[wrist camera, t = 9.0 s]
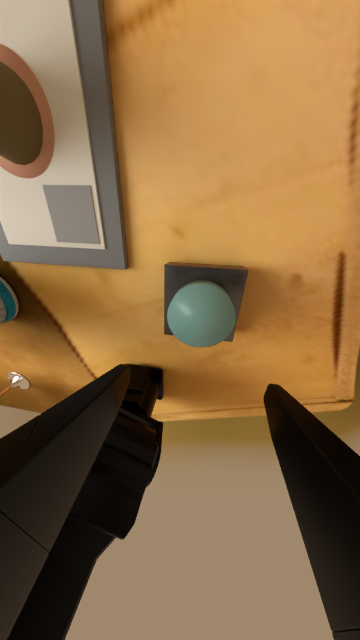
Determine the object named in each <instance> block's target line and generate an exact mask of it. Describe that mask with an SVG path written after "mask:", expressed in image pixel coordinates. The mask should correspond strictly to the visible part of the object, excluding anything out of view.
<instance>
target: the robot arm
mask: <svg viewBox="0 0 360 640" xmlns="http://www.w3.org/2000/svg"><path fill="white" fill-rule="evenodd" d="M162 398H163V370H162V369H158V368H151V367H143V366H136V365H128V364H119V365H118V366H116V367H114V368H113V369H111V370H110V371H108V372H107V373H105V374H103V375H102V376H100V377H99V378H97V379H95V380H94V381H92V382H91V383H89V384H87V385H86V386H84V387H83V388H81V389H80V390H78V391H76V392H75V393H73V394H72V395H70V396H68V397H67V398H65V399H64V400H62V401H60V402H59V403H57V404H56V405H54V406H53V407H51V408H49V409H48V410H46V411H45V412H43V413H41V415H38V416H37V417H35V418H33V419H32V420H30V421H29V422H27V423H26V424H24V425H22V426H20V427H19V428H17V429H16V430H14V431H12V432H11V433H9V434H7V435H6V436H4V437H2V438H0V640H65V637H66V635H67V633H68V630H69V628H70V625H71V622H72V620H73V617H74V615H75V612H76V610H77V607H78V605H79V602H80V600H81V597H82V595H83V592H84V590H85V587H86V585H87V582H88V579H89V577H90V575H91V572H92V570H93V567H94V565H95V563H96V560H97V559H98V558H99V556H100V555H101V554H102V553H103V552H104V551H105V549H106V548H107V547H108V546H109V545H110V544H111V543H112V541H113V540H114V539H115V538H116V537H117V538H119V539H124V538H125V537H126V535H127V534H128V533H129V531H130V530H131V528H132V526H133V525H134V523H135V520H136V517H137V514H138V510H139V507H140V503H141V500H142V497H143V494H144V491H145V488H146V487H147V486H148V485H149V484H150V483H151V481H152V479H153V477H154V475H155V472H156V469H157V467H158V463H159V460H160V454H161V443H162V431H163V422H161V421H157V420H155V419H153V418H151V415H152V412H153V409H154V405H155V402H156V399H159V400H161V399H162ZM264 405H265V409H266V414H267V419H268V424H269V429H270V433H271V437H272V441H273V445H274V447H275V451H276V454H277V457H278V461H279V464H280V467H281V470H282V474H283V476H284V480H285V483H286V486H287V489H288V492H289V496H290V499H291V502H292V505H293V509H294V511H295V515H296V519H297V521H298V525H299V528H300V531H301V535H302V538H303V541H304V544H305V547H306V551H307V554H308V557H309V560H310V564H311V567H312V569H313V573H314V576H315V579H316V583H317V586H318V589H319V592H320V595H321V599H322V602H323V605H324V608H325V612H326V615H327V618H328V621H329V624H330V628H331V630H332V631H333V632H332V634H333V638H334V640H360V456H359V455H358V454H357V453H355V452H354V451H353V450H352V449H351V448H350V447H349V446H347V444H345V443H344V442H343V441H342V440H341V439H340V438H339V437H337V436H336V435H335V434H334V433H333V432H332V431H331V430H330V429H328V428H327V427H326V426H325V425H324V424H323V423H322V422H321V421H319V420H318V419H317V418H316V417H315V416H314V415H313V414H312V413H310V412H309V411H308V410H307V409H306V408H305V407H304V406H303V405H301V404H300V403H299V402H298V401H297V400H296V399H295V398H294V397H292V396H291V395H290V394H289V393H288V392H287V391H286V390H284V389H283V388H282V387H281V386H280V385H277V384H269V385H268V386H267V389H266V392H265V394H264Z"/></svg>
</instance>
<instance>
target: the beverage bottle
mask: <svg viewBox="0 0 360 640" xmlns="http://www.w3.org/2000/svg"><path fill="white" fill-rule="evenodd" d="M18 310H19V304H18V300H17V297H16V295H15V293H14V291H13V290H12V288H11V287H10V286H9V284H8V283H7V282H6V281H5V280H4V279H3V278H1V277H0V324H2V323H5V322H7V321H10V320H12V319H13V318H15V317H16V315H17V313H18Z"/></svg>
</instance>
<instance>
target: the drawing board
mask: <svg viewBox="0 0 360 640" xmlns="http://www.w3.org/2000/svg"><path fill="white" fill-rule="evenodd" d="M0 61H1V62H2V63H4V64H5V65H7V66H8V67H9V68H11V69H12V70H13V71H14V72H15V73H16V74H17V75H18V76H19V77H20V78H21V79H22V80H23V81H24V82H25V84H26V85H27V87H28V89H29V90H30V92H31V94H32V95H33V97H34V99H35V102H36V104H37V107H38V110H39V112H40V116H41V122H42V127H43V144H42V147H41V151H40V154H39V156H38V157H37V158H36V159H35V161H34V162H32V163H30V164H27V165H19V164H15V163H13V162H11V161H9V160H7V159H5V158H4V157H2V156H0V254H1V256H2V259H3V261H12V262H26V263H41V264H55V265H70V266H84V267H99V268H113V269H128V262H127V251H126V240H125V230H124V219H123V209H122V198H121V187H120V177H119V166H118V156H117V145H116V134H115V124H114V113H113V102H112V92H111V81H110V71H109V60H108V49H107V39H106V28H105V18H104V7H103V0H0Z"/></svg>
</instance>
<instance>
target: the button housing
mask: <svg viewBox="0 0 360 640" xmlns="http://www.w3.org/2000/svg"><path fill="white" fill-rule="evenodd" d="M247 274H248V270H247V269H246V268H244V267H242V266H226V265H209V264H193V263H177V262H169V263H167V264H165V307H164V334H167V335H174V334H173V333H172V331H171V330H170V328H169V325H168V321H167V311H168V307H169V305H170V303H171V301H172V299H173V298H174V296H175V294H176V293H177V291H178V290H179V289H180V288H182V287H183V286H184V285H186V284H188V283H190V282H194V281H199V280H204V281H210V282H213V283H215V284H217V285H219V286H221V287H222V288H223V289H224V290H225V291H226V292H227V294H228V295H229V297H230V299H231V302H232V304H233V306H234V309H235V315H236V319H235V324H234V327H233V329H232V331H231V333H230V334H229V335H228V337H227V338H225V339H224V340H223V341H229V342H232V341H233V337H234V332H235V328H236V323H237V319H238V314H239V310H240V305H241V301H242V296H243V292H244V287H245V283H246V278H247Z"/></svg>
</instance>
